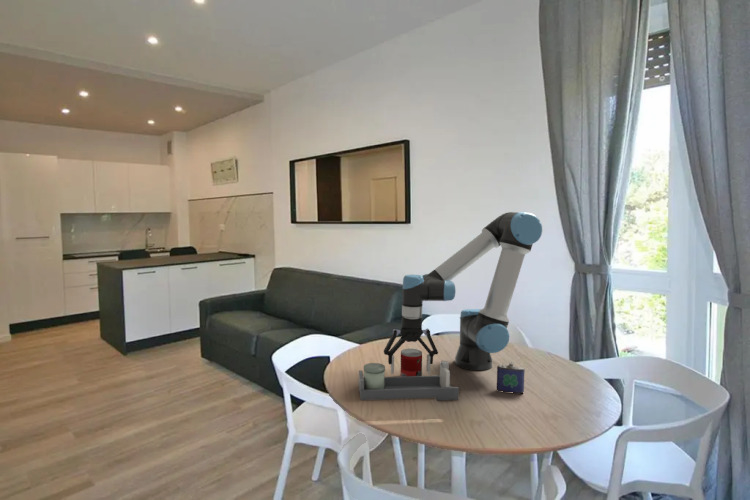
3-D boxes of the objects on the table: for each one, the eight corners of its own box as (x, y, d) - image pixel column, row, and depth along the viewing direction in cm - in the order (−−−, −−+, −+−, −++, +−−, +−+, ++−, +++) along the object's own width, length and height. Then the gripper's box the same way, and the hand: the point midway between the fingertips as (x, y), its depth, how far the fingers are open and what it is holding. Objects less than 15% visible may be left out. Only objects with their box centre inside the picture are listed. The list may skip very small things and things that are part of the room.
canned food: (420, 385, 156) (421, 355, 155) (399, 383, 157) (399, 354, 156) (422, 377, 163) (423, 349, 162) (401, 375, 165) (402, 347, 164)
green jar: (383, 387, 151) (383, 362, 150) (386, 396, 144) (386, 370, 143) (362, 388, 150) (362, 363, 149) (364, 397, 143) (364, 370, 142)
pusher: (443, 383, 154) (444, 357, 153) (450, 394, 145) (451, 366, 144) (438, 384, 153) (438, 358, 153) (444, 394, 145) (445, 366, 144)
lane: (449, 385, 155) (449, 367, 155) (458, 399, 144) (458, 379, 143) (358, 388, 152) (358, 369, 152) (360, 402, 141) (360, 382, 140)
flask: (523, 391, 151) (524, 362, 150) (524, 395, 148) (525, 365, 147) (496, 388, 153) (497, 359, 152) (496, 392, 150) (497, 362, 149)
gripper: (442, 314, 163) (440, 368, 165) (377, 314, 161) (376, 369, 163) (447, 319, 156) (445, 375, 157) (379, 319, 153) (378, 376, 155)
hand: (410, 372), depth 160 cm, fingers open, 13 cm apart
